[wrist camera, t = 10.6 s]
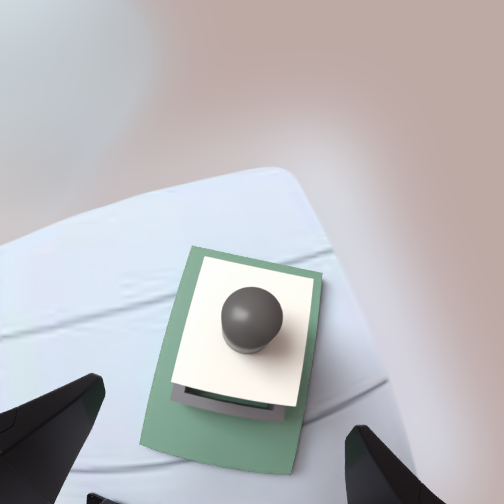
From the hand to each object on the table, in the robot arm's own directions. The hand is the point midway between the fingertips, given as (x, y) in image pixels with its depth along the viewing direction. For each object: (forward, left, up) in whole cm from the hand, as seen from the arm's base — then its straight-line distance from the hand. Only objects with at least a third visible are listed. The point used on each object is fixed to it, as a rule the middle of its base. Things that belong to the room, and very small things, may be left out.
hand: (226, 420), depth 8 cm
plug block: (+3, 0, -12) cm, 13 cm away
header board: (+3, 0, -13) cm, 14 cm away
